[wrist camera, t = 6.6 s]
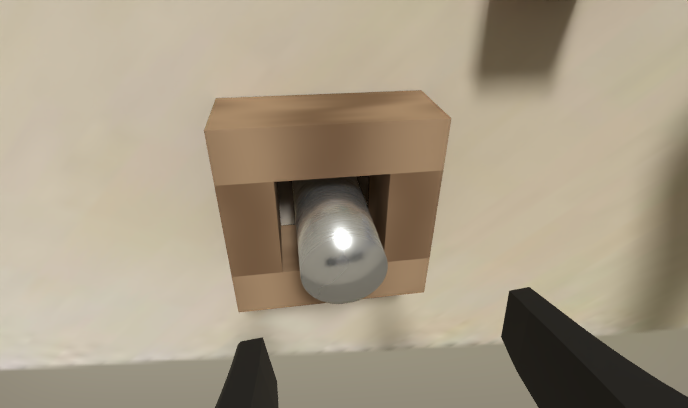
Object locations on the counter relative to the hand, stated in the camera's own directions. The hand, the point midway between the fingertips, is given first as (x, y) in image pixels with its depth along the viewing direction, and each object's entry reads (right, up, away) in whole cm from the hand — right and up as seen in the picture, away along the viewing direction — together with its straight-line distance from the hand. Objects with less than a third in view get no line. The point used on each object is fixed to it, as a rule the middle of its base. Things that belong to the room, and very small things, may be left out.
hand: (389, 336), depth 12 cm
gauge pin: (-2, +5, +8) cm, 10 cm away
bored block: (-2, +5, +8) cm, 10 cm away
